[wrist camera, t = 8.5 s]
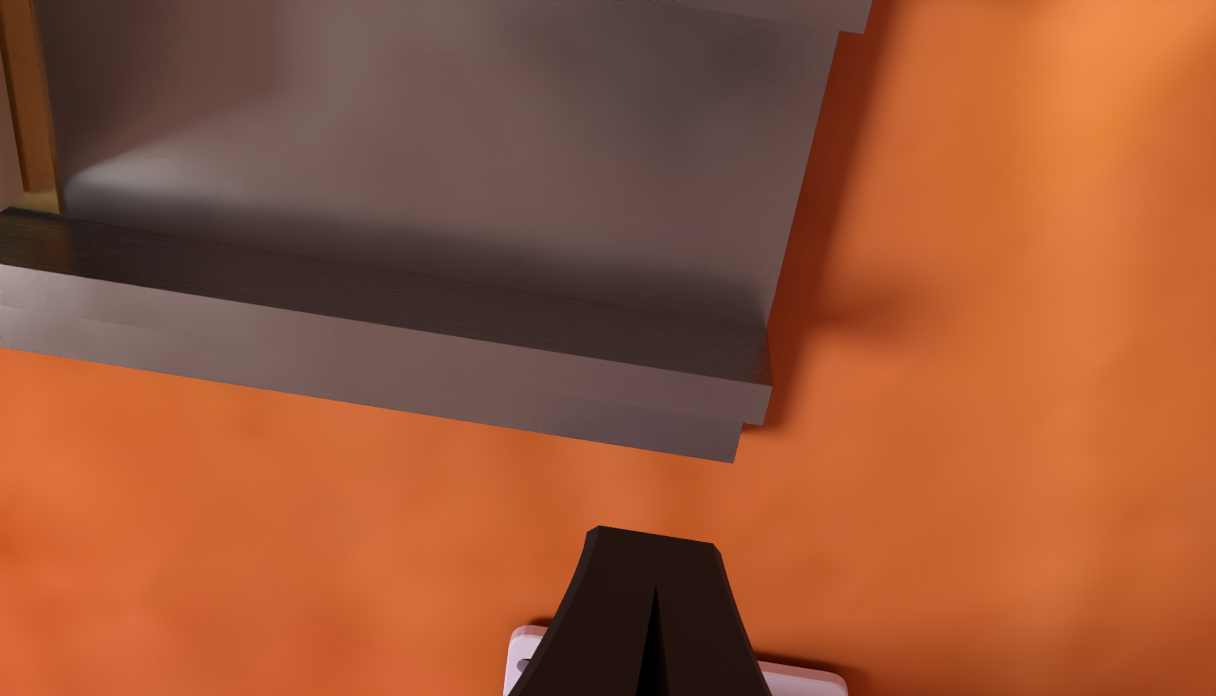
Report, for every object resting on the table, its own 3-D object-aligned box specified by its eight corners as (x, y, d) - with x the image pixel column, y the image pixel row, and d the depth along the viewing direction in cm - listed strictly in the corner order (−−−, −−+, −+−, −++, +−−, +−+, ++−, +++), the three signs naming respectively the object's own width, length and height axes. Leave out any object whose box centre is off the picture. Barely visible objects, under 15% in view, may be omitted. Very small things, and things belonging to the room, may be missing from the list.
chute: (732, 434, 21) (735, 529, 19) (-226, 283, 21) (-355, 356, 19) (891, -226, 15) (930, -221, 13) (-451, -438, 15) (-687, -476, 13)
